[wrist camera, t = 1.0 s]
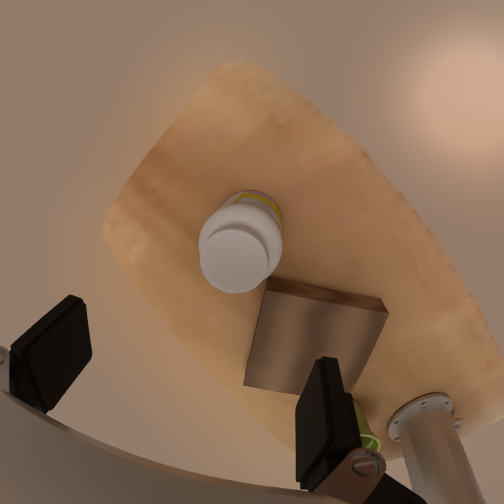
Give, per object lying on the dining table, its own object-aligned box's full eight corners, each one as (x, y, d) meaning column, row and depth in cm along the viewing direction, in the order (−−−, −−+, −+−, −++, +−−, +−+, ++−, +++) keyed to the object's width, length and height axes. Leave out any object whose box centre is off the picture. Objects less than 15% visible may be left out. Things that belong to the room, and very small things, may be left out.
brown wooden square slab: (380, 298, 34) (388, 313, 30) (343, 383, 38) (346, 400, 35) (267, 276, 34) (265, 290, 31) (246, 368, 39) (243, 385, 36)
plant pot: (380, 393, 39) (393, 435, 31) (354, 430, 42) (361, 470, 34) (324, 386, 39) (329, 432, 31) (303, 424, 42) (304, 467, 34)
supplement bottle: (234, 257, 34) (208, 316, 22) (211, 202, 32) (168, 235, 20) (291, 238, 33) (295, 291, 20) (269, 180, 31) (261, 199, 19)
